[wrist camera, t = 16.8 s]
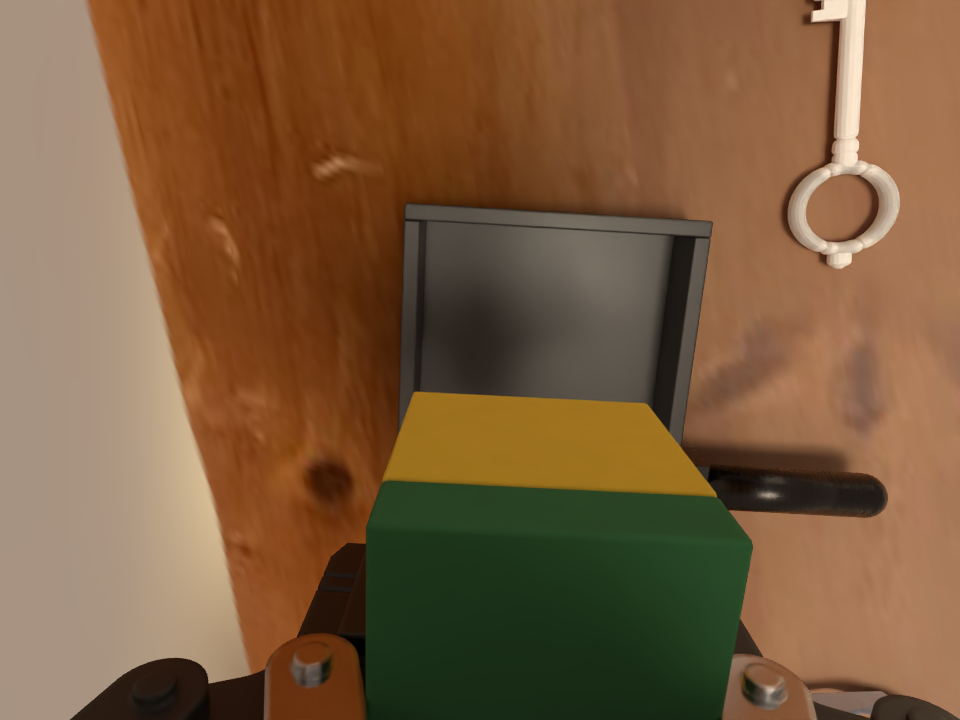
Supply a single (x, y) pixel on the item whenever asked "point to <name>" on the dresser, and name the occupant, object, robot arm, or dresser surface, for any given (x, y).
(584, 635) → the sponge
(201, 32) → the dresser surface
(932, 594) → the dresser surface
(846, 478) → the pan handle
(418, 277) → the pan
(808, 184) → the key
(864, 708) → the headphones
